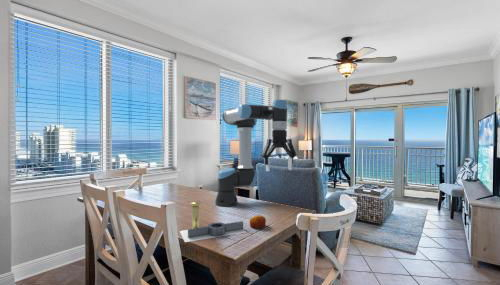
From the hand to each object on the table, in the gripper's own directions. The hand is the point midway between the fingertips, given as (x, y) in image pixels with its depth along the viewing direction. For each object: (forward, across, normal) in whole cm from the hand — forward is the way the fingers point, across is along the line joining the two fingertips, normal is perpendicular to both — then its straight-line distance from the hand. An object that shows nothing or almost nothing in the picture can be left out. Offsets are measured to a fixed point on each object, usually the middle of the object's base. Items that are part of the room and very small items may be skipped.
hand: (279, 170), depth 134 cm
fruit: (+28, -14, -3) cm, 31 cm away
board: (+28, -36, 0) cm, 45 cm away
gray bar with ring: (+26, -35, -3) cm, 44 cm away
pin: (+26, -43, +5) cm, 51 cm away
